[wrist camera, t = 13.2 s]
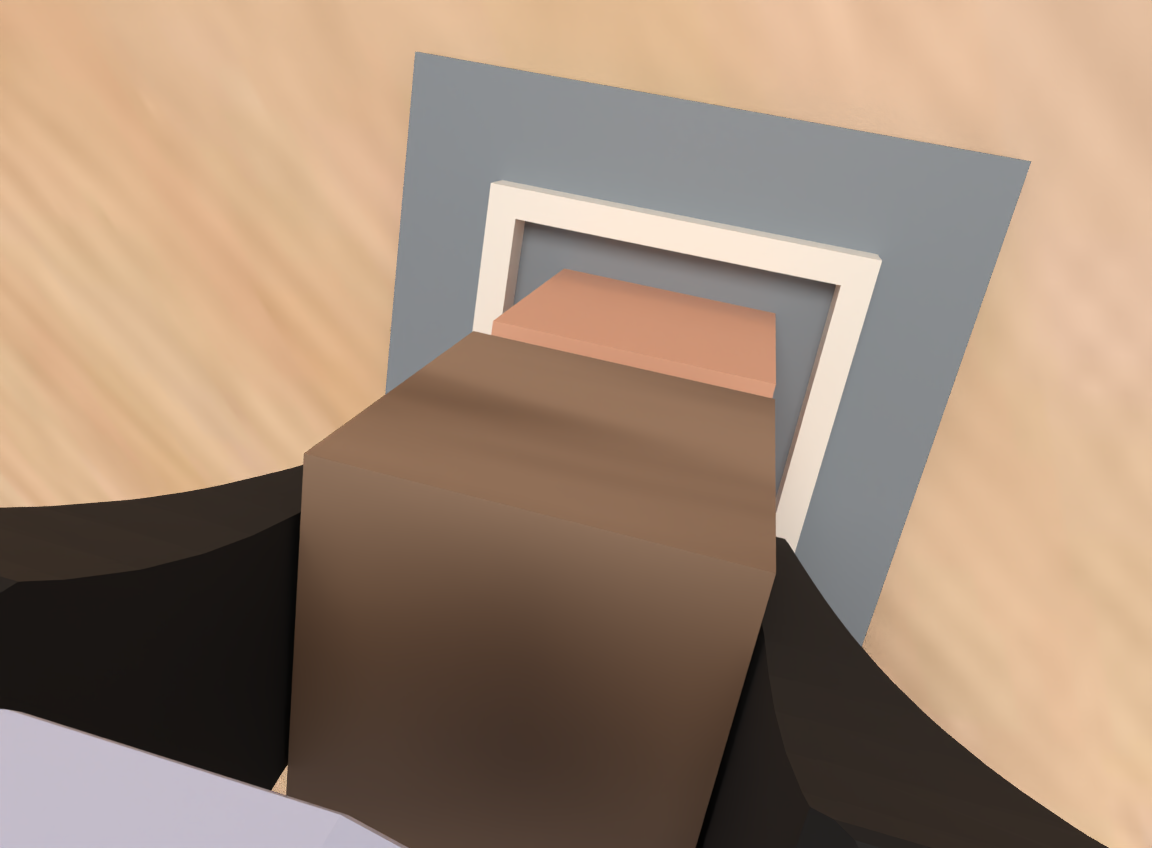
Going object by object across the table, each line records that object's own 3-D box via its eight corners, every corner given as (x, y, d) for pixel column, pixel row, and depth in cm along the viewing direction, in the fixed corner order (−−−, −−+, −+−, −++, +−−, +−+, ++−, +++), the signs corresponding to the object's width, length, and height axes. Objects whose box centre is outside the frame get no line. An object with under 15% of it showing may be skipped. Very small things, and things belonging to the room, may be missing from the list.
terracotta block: (725, 506, 19) (709, 629, 15) (533, 459, 20) (460, 563, 15) (775, 313, 18) (775, 383, 13) (564, 268, 18) (492, 321, 14)
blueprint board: (845, 675, 21) (850, 709, 19) (379, 550, 22) (356, 575, 21) (1024, 160, 16) (1043, 163, 15) (424, 53, 18) (399, 48, 17)
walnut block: (705, 657, 14) (671, 930, 9) (441, 587, 14) (285, 808, 10) (775, 399, 12) (775, 573, 8) (473, 331, 13) (304, 453, 8)
